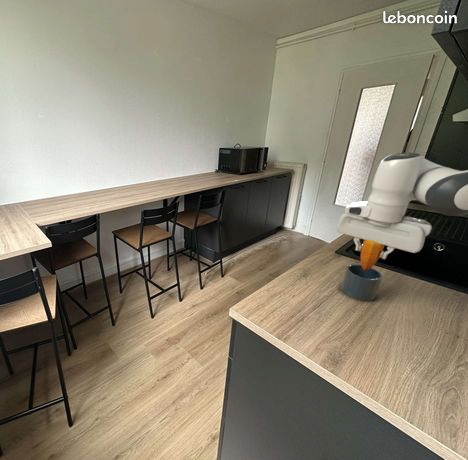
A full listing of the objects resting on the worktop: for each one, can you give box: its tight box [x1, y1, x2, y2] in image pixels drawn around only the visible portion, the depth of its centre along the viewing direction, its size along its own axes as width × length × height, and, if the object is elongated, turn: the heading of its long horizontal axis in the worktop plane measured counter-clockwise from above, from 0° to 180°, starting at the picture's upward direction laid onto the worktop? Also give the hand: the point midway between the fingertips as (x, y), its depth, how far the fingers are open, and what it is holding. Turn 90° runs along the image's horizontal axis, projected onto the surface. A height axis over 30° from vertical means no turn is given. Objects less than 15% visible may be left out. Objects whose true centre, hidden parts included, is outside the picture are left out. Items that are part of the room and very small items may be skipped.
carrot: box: [360, 239, 385, 271], centre depth 77 cm, size 5×5×15 cm
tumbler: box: [340, 264, 383, 302], centre depth 82 cm, size 9×9×8 cm
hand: (370, 254), depth 78 cm, fingers closed on carrot, 5 cm apart
